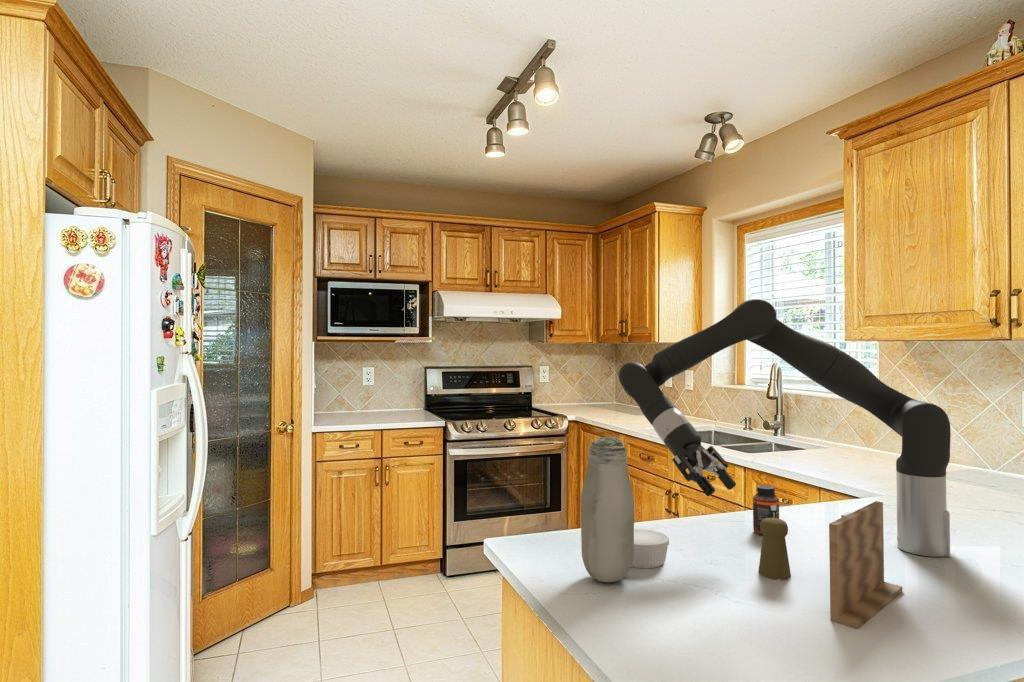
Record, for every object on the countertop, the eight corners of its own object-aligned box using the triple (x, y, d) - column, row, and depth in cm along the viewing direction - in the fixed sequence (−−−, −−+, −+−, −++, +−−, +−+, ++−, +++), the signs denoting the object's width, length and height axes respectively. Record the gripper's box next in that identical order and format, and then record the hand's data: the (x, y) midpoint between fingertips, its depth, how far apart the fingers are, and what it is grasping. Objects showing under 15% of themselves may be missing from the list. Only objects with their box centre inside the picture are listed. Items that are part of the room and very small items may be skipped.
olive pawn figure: (752, 568, 122) (752, 515, 122) (780, 567, 122) (780, 514, 122) (767, 580, 116) (767, 523, 116) (797, 579, 116) (796, 523, 116)
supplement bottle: (782, 537, 142) (781, 490, 142) (755, 536, 143) (755, 489, 143) (776, 530, 148) (775, 484, 148) (751, 528, 149) (750, 483, 149)
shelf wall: (877, 585, 113) (875, 501, 113) (902, 591, 110) (901, 505, 110) (830, 619, 99) (829, 523, 99) (858, 628, 96) (856, 529, 96)
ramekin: (605, 556, 130) (605, 532, 130) (647, 549, 134) (647, 526, 134) (635, 574, 120) (635, 548, 120) (680, 566, 124) (679, 540, 124)
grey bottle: (623, 593, 110) (621, 442, 110) (573, 582, 115) (572, 438, 116) (641, 576, 118) (640, 435, 119) (594, 566, 124) (593, 432, 124)
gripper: (667, 424, 130) (716, 485, 121) (703, 419, 139) (750, 475, 130) (648, 445, 134) (693, 506, 125) (683, 439, 143) (728, 495, 134)
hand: (722, 490), depth 128 cm, fingers open, 8 cm apart
